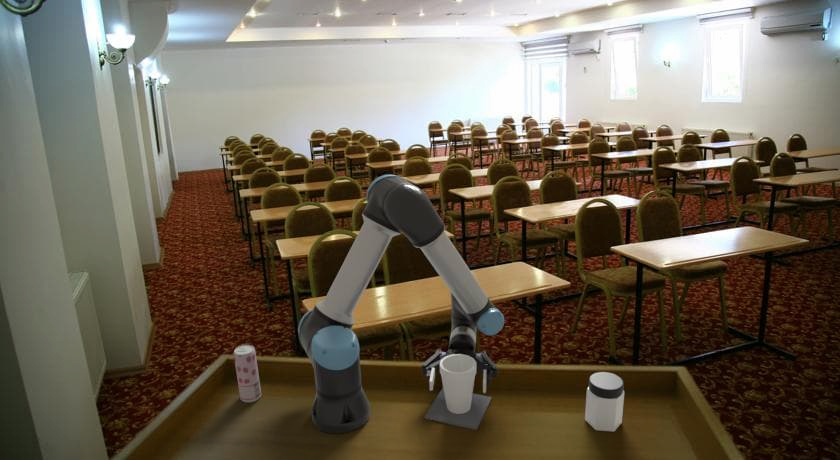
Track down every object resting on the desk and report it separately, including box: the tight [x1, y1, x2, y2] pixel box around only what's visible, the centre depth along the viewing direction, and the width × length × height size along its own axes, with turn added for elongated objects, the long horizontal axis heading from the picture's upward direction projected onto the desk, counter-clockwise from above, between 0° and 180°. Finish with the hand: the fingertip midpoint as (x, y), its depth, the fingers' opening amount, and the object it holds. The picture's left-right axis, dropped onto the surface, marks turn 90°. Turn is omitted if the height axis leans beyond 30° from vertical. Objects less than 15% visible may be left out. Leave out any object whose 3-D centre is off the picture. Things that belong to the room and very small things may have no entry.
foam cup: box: [439, 354, 478, 414], centre depth 159 cm, size 10×9×13 cm
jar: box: [584, 371, 625, 432], centre depth 152 cm, size 9×8×12 cm
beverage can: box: [233, 344, 262, 403], centre depth 167 cm, size 6×6×15 cm
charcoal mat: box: [423, 387, 493, 431], centre depth 161 cm, size 14×14×1 cm
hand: (457, 387), depth 155 cm, fingers open, 13 cm apart
